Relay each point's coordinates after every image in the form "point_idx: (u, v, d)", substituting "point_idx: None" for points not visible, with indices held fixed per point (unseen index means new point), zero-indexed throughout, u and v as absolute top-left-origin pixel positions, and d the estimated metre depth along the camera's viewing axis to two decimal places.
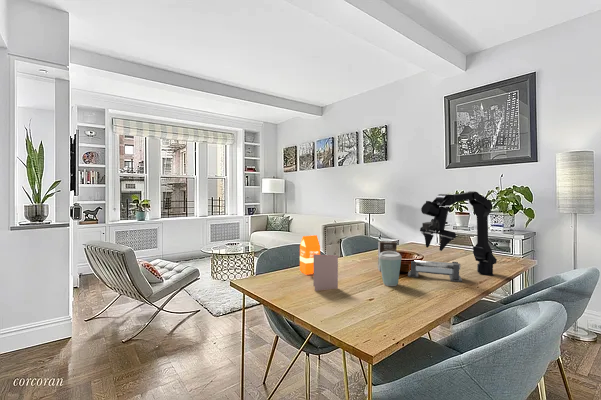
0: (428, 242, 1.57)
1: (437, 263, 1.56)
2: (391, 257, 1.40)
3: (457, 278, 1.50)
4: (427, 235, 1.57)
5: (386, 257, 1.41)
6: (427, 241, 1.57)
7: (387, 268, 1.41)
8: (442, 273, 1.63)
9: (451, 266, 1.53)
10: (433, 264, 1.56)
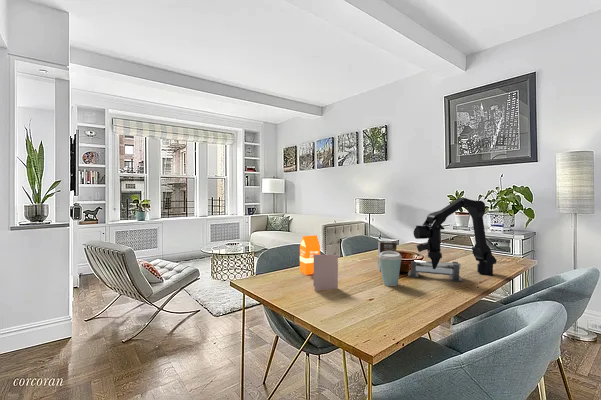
0: None
1: None
2: (391, 257, 1.40)
3: (457, 278, 1.50)
4: None
5: (386, 257, 1.41)
6: None
7: (387, 268, 1.41)
8: (442, 273, 1.63)
9: (451, 266, 1.53)
10: None
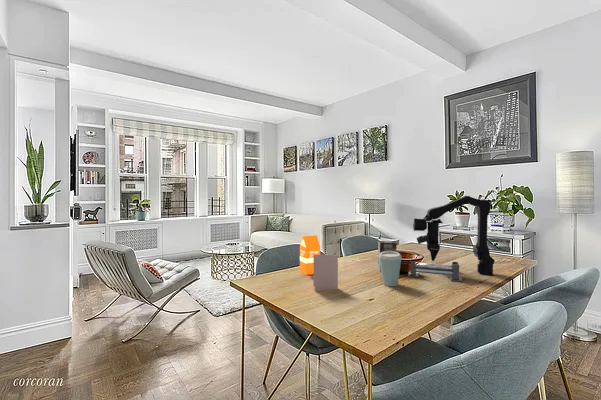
0: None
1: (436, 264, 1.70)
2: (391, 257, 1.40)
3: (457, 278, 1.50)
4: None
5: (386, 257, 1.41)
6: None
7: (387, 268, 1.41)
8: (442, 273, 1.63)
9: (448, 266, 1.67)
10: (432, 264, 1.70)
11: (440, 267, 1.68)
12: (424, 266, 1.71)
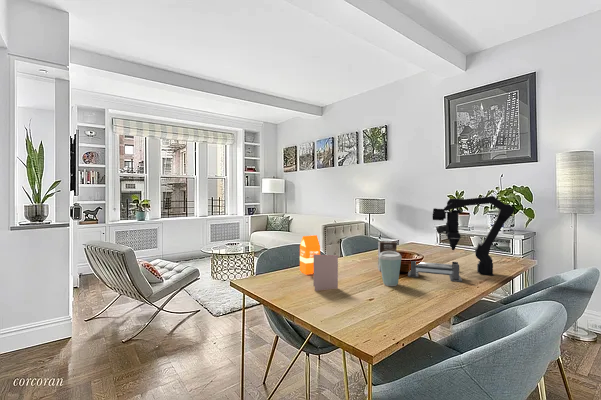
0: None
1: None
2: (391, 257, 1.40)
3: (457, 278, 1.50)
4: None
5: (386, 257, 1.41)
6: (450, 242, 1.75)
7: (387, 268, 1.41)
8: (442, 273, 1.63)
9: None
10: None
11: None
12: (424, 262, 1.74)
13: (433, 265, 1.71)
